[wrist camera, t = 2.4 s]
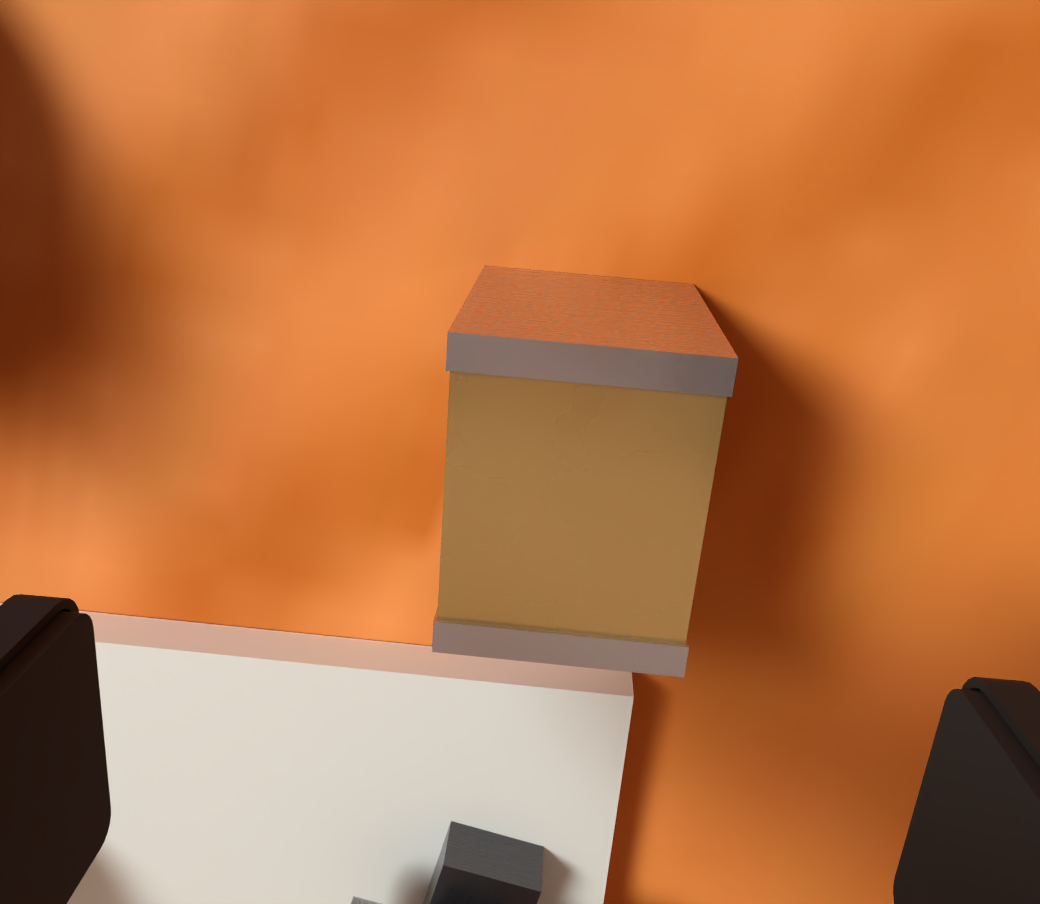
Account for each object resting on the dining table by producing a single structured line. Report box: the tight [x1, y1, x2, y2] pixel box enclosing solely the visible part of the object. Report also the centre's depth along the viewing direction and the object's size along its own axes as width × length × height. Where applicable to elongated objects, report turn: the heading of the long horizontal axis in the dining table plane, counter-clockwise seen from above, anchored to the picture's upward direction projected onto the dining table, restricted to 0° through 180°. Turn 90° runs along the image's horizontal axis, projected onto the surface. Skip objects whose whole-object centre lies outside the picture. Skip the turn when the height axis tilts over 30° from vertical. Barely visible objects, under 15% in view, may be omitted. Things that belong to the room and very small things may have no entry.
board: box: [0, 603, 634, 904], centre depth 24 cm, size 21×12×1 cm, turn 85°
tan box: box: [432, 266, 739, 677], centre depth 17 cm, size 6×4×6 cm
